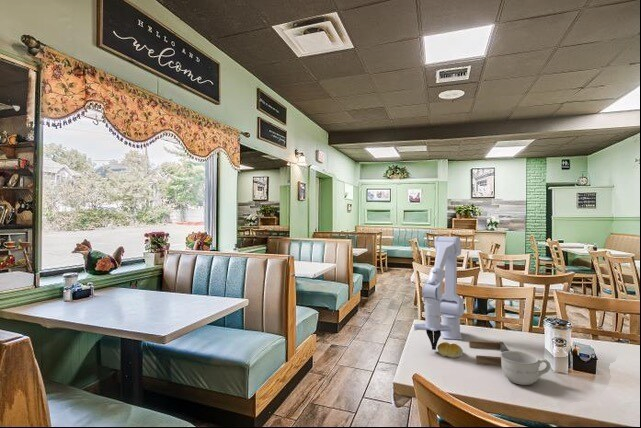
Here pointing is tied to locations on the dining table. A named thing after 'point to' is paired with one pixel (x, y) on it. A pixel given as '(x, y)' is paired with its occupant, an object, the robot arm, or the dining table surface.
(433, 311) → the robot arm
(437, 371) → the dining table surface
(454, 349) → the bread roll
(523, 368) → the teacup
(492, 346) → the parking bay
